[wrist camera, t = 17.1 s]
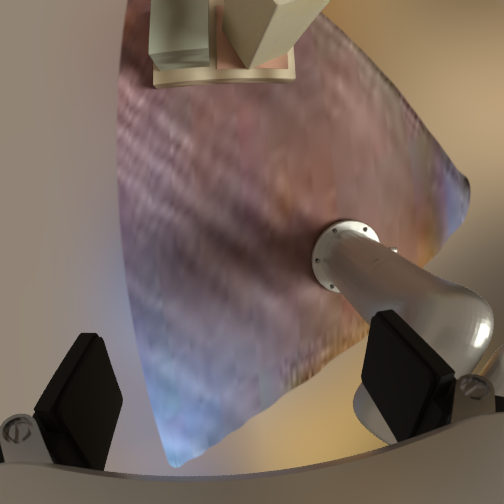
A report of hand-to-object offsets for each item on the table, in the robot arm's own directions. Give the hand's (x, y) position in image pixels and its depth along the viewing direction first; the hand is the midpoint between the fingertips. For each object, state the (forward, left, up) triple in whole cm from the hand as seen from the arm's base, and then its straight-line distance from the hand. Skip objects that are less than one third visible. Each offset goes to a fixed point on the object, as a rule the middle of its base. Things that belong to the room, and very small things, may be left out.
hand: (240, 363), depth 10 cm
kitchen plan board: (-1, -25, -38) cm, 46 cm away
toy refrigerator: (-6, -24, -35) cm, 43 cm away
